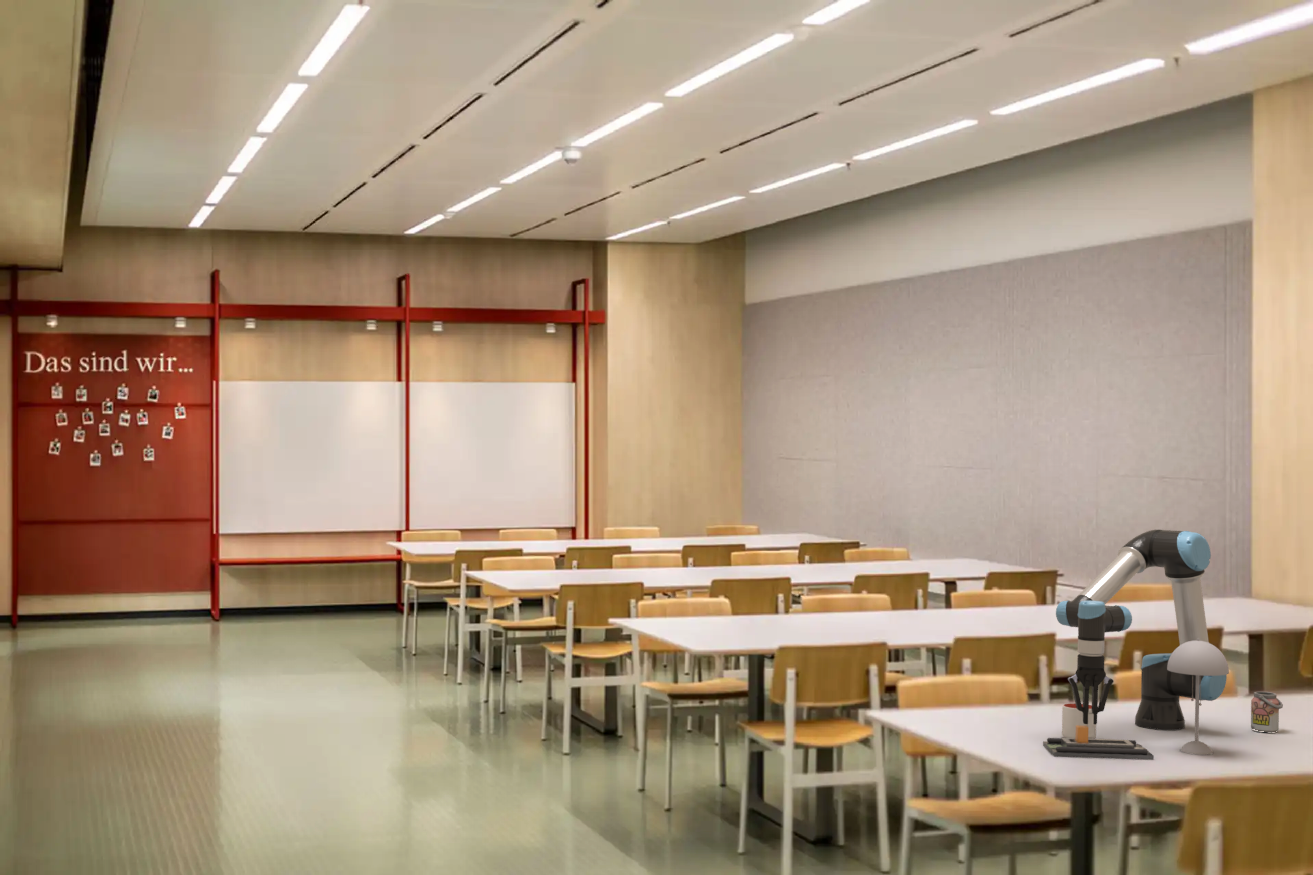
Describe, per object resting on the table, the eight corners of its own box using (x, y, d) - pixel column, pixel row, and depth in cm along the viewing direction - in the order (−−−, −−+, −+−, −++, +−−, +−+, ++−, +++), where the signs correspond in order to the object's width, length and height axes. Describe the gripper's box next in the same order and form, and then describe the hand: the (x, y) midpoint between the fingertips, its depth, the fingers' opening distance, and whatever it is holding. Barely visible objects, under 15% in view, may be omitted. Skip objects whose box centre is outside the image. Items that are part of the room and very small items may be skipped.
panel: (1139, 748, 442) (1139, 737, 442) (1153, 759, 426) (1153, 748, 426) (1043, 745, 444) (1043, 734, 444) (1053, 756, 428) (1054, 745, 428)
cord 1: (1134, 744, 441) (1134, 740, 441) (1136, 745, 440) (1136, 740, 440) (1046, 742, 443) (1046, 737, 443) (1047, 743, 442) (1047, 738, 442)
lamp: (1220, 760, 427) (1222, 644, 427) (1159, 752, 436) (1161, 639, 436) (1232, 750, 442) (1234, 638, 442) (1173, 743, 451) (1175, 633, 451)
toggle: (1087, 746, 437) (1087, 725, 437) (1089, 748, 433) (1090, 727, 433) (1073, 746, 437) (1073, 725, 437) (1075, 748, 434) (1076, 727, 434)
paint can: (1286, 731, 473) (1286, 693, 473) (1276, 735, 466) (1276, 696, 466) (1256, 727, 479) (1257, 690, 479) (1246, 731, 473) (1247, 693, 473)
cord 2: (1146, 753, 428) (1146, 748, 428) (1147, 754, 427) (1147, 749, 427) (1055, 751, 430) (1055, 746, 430) (1056, 752, 429) (1056, 747, 429)
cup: (1078, 743, 448) (1078, 710, 448) (1054, 737, 457) (1055, 704, 457) (1103, 740, 453) (1103, 707, 453) (1079, 734, 462) (1080, 702, 462)
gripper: (1110, 653, 438) (1109, 733, 438) (1065, 651, 439) (1064, 732, 439) (1116, 656, 431) (1115, 738, 431) (1070, 655, 432) (1069, 737, 432)
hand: (1089, 735), depth 435 cm, fingers closed
